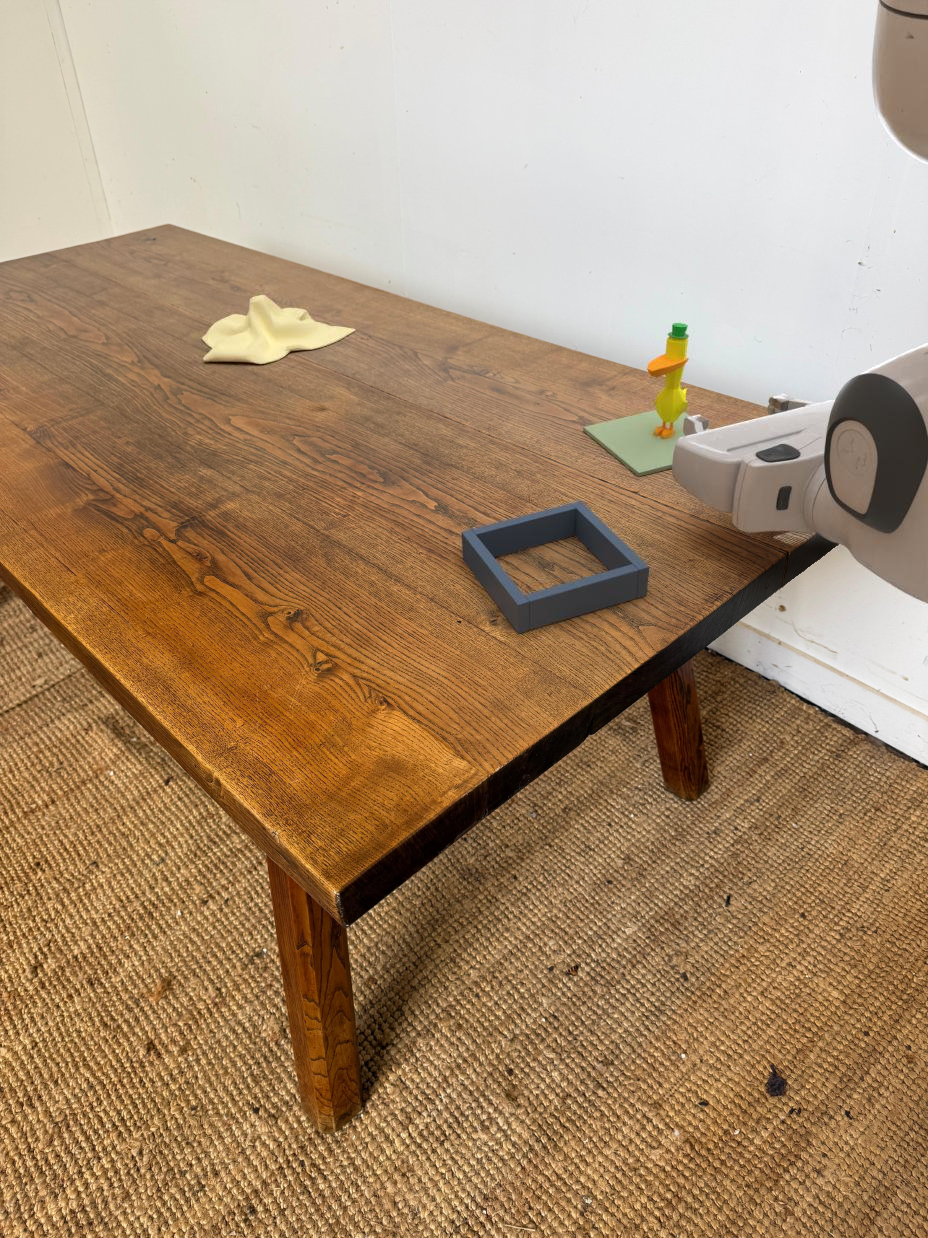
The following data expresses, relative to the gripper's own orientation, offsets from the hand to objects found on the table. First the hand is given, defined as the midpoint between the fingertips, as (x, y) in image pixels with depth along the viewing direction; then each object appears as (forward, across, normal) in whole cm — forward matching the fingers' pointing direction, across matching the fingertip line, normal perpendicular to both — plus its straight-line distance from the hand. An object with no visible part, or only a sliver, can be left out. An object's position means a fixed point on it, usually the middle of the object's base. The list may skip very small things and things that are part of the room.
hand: (732, 412), depth 83 cm
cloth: (+65, +31, +8) cm, 72 cm away
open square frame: (-6, +22, +8) cm, 24 cm away
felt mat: (+12, 0, +8) cm, 14 cm away
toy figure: (+12, -1, +8) cm, 14 cm away
